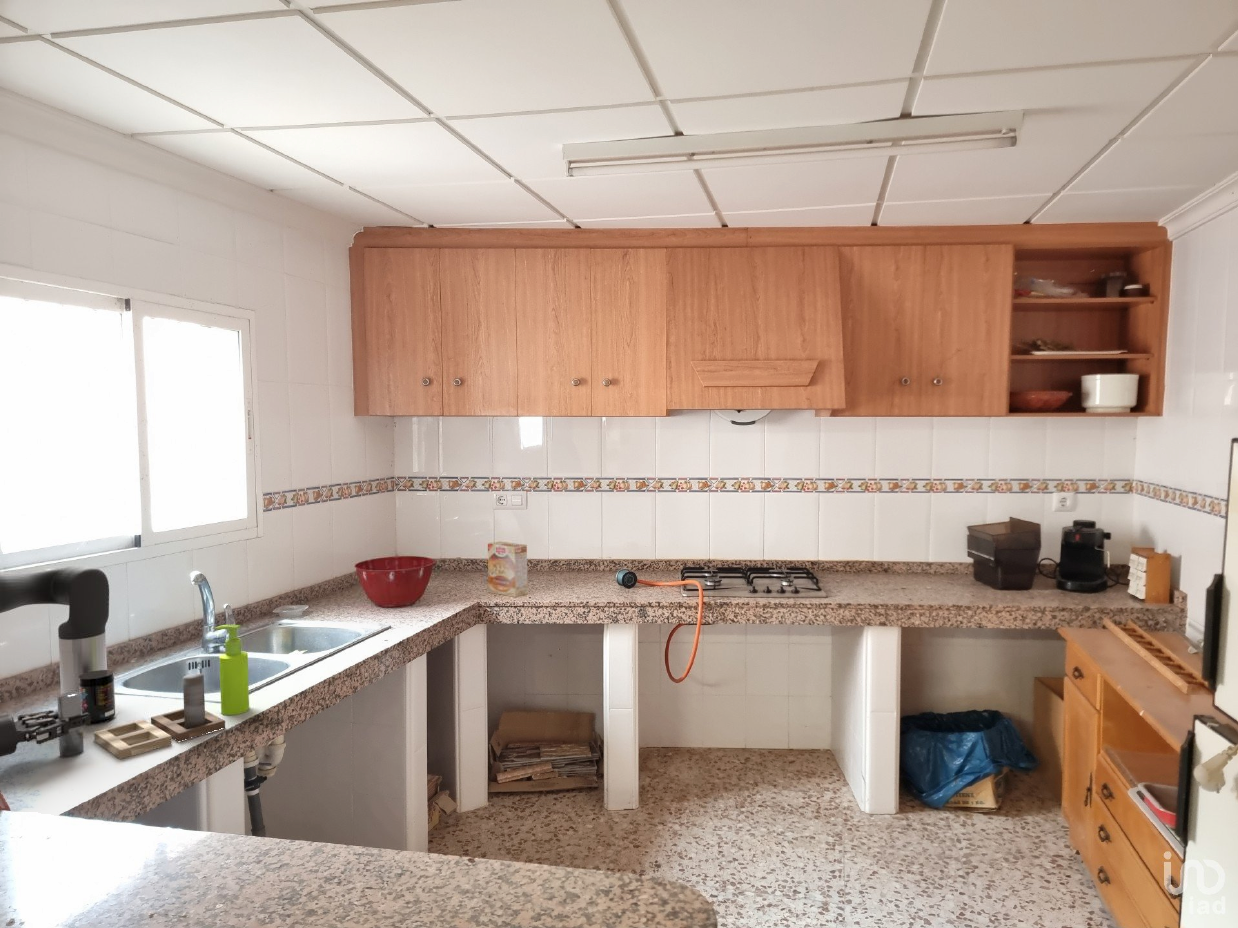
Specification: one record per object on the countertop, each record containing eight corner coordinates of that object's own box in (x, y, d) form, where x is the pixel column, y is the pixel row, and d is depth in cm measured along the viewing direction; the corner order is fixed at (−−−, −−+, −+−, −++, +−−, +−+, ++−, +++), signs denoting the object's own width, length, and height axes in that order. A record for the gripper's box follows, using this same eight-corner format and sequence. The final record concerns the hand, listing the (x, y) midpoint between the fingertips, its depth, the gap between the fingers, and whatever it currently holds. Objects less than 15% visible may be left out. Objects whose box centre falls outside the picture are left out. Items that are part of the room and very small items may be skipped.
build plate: (94, 740, 170) (94, 731, 170) (143, 727, 177) (143, 718, 177) (120, 758, 160) (120, 750, 160) (171, 744, 168) (171, 735, 168)
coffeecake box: (487, 592, 316) (486, 543, 315) (500, 589, 321) (500, 540, 320) (515, 597, 307) (514, 546, 306) (528, 594, 312) (527, 544, 311)
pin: (56, 753, 163) (54, 695, 163) (79, 747, 166) (77, 690, 166) (63, 758, 161) (60, 699, 160) (86, 752, 164) (84, 694, 163)
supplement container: (95, 713, 186) (93, 669, 185) (122, 714, 185) (121, 670, 185) (72, 724, 179) (70, 678, 178) (101, 725, 178) (99, 679, 178)
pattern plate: (151, 725, 178) (149, 671, 178) (195, 713, 186) (194, 661, 185) (179, 741, 169) (177, 685, 168) (225, 728, 176) (223, 674, 176)
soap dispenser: (225, 705, 190) (222, 622, 189) (253, 706, 190) (251, 622, 189) (211, 714, 185) (208, 628, 183) (241, 715, 184) (238, 628, 183)
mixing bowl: (400, 615, 278) (399, 571, 278) (338, 608, 290) (337, 565, 290) (450, 599, 304) (450, 558, 303) (391, 593, 316) (390, 554, 315)
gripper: (-9, 730, 147) (97, 704, 161) (-29, 712, 157) (74, 689, 170) (-7, 770, 148) (99, 741, 161) (-27, 750, 157) (75, 724, 170)
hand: (85, 715), depth 165 cm, fingers closed on pin, 4 cm apart
